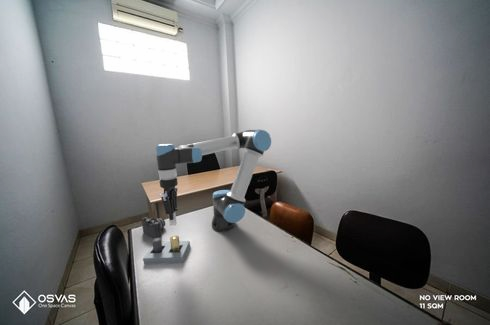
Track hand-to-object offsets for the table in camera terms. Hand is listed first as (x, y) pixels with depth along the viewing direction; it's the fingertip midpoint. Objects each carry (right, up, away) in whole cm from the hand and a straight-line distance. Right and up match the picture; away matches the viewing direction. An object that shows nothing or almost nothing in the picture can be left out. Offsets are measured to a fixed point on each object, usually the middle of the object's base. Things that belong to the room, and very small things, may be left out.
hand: (173, 224), depth 84 cm
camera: (-20, -13, +23) cm, 33 cm away
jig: (-4, -16, +3) cm, 17 cm away
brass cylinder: (0, -15, +3) cm, 15 cm away
